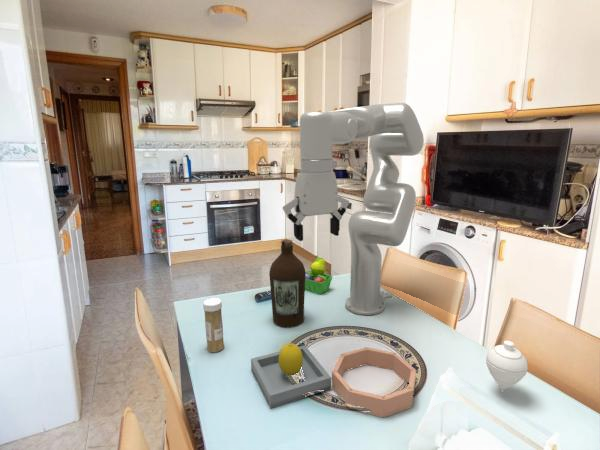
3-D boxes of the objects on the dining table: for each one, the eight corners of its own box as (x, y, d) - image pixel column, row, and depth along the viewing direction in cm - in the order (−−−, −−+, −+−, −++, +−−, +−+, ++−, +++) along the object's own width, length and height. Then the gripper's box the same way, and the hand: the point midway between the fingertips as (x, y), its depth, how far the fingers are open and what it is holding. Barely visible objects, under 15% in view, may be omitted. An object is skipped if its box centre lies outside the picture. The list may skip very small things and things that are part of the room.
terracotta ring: (382, 356, 91) (382, 342, 90) (431, 399, 76) (432, 383, 75) (321, 374, 85) (321, 359, 84) (361, 425, 70) (362, 407, 69)
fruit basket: (296, 288, 134) (295, 259, 131) (310, 281, 140) (310, 253, 138) (320, 296, 127) (321, 266, 124) (335, 288, 133) (335, 259, 131)
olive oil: (273, 311, 116) (271, 235, 110) (306, 312, 115) (306, 236, 109) (268, 328, 106) (265, 246, 100) (304, 329, 105) (304, 246, 99)
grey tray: (304, 355, 92) (304, 345, 92) (331, 389, 80) (331, 377, 79) (251, 369, 87) (250, 358, 86) (270, 408, 74) (270, 395, 74)
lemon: (300, 384, 80) (300, 351, 78) (276, 381, 81) (275, 349, 79) (305, 369, 85) (304, 338, 84) (282, 366, 86) (281, 336, 85)
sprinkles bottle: (224, 351, 95) (221, 303, 91) (206, 354, 94) (202, 305, 90) (224, 342, 99) (221, 296, 96) (206, 344, 98) (203, 298, 95)
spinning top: (529, 407, 74) (537, 354, 71) (488, 403, 75) (495, 351, 72) (514, 382, 81) (521, 334, 78) (477, 379, 83) (483, 331, 80)
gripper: (340, 164, 92) (340, 229, 96) (276, 167, 86) (278, 237, 90) (356, 166, 86) (355, 236, 90) (288, 170, 79) (290, 245, 83)
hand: (317, 236), depth 90 cm, fingers open, 9 cm apart
